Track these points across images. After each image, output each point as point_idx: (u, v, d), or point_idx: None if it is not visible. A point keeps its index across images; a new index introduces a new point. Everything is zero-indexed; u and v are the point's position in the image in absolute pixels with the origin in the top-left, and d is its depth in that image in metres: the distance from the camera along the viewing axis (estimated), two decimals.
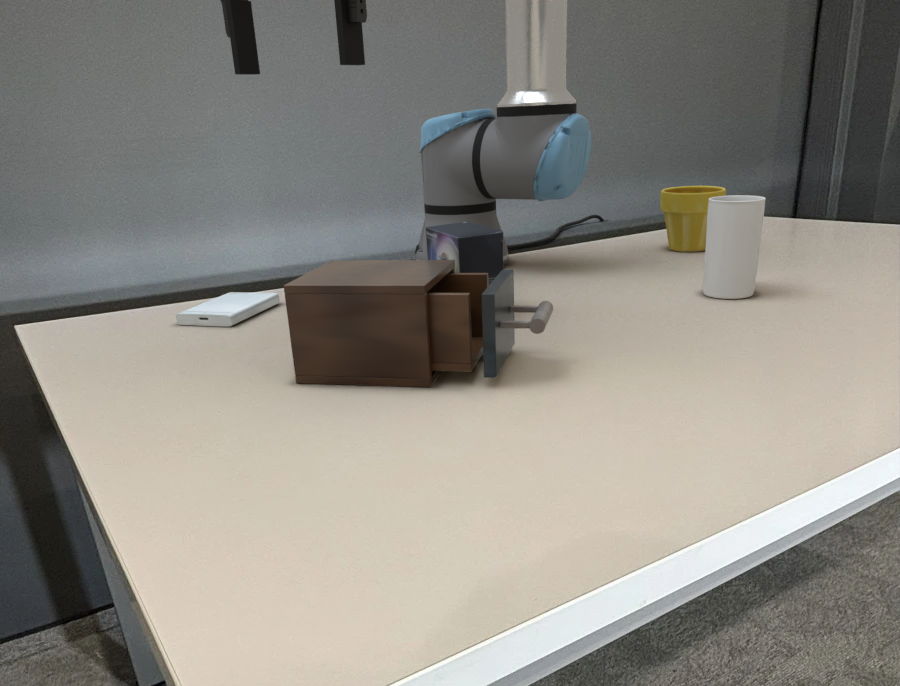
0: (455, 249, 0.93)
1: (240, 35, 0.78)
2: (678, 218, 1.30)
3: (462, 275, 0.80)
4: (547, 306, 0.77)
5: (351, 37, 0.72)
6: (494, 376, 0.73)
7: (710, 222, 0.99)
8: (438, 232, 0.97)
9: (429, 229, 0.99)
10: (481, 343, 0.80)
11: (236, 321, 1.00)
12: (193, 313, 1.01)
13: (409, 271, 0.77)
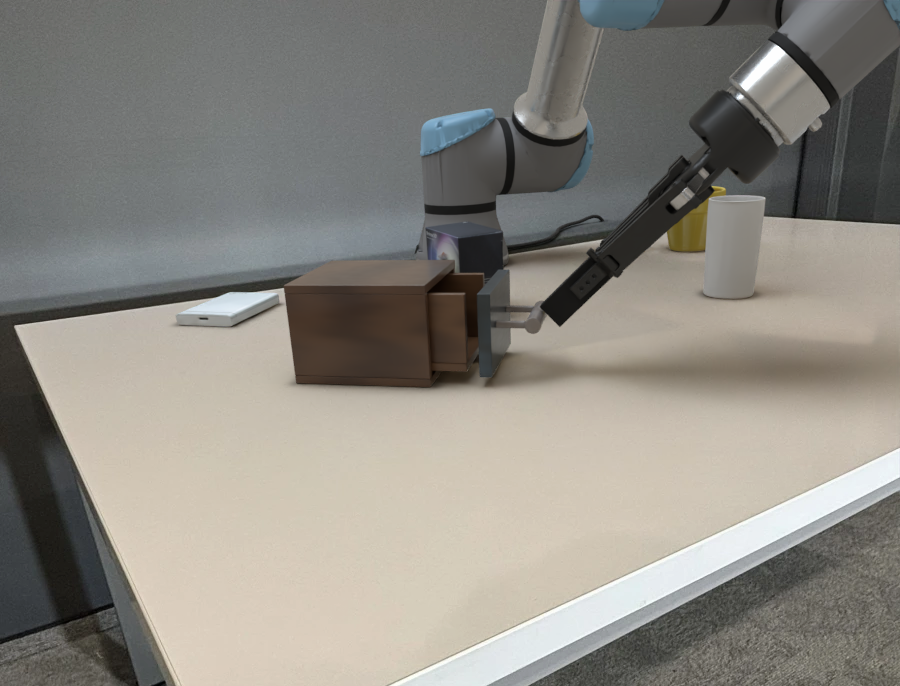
0: (455, 249, 0.93)
1: None
2: None
3: (458, 275, 0.80)
4: None
5: None
6: (490, 376, 0.73)
7: (710, 222, 0.99)
8: (438, 232, 0.97)
9: (429, 229, 0.99)
10: (477, 343, 0.80)
11: (236, 321, 1.00)
12: (193, 313, 1.01)
13: (409, 271, 0.77)
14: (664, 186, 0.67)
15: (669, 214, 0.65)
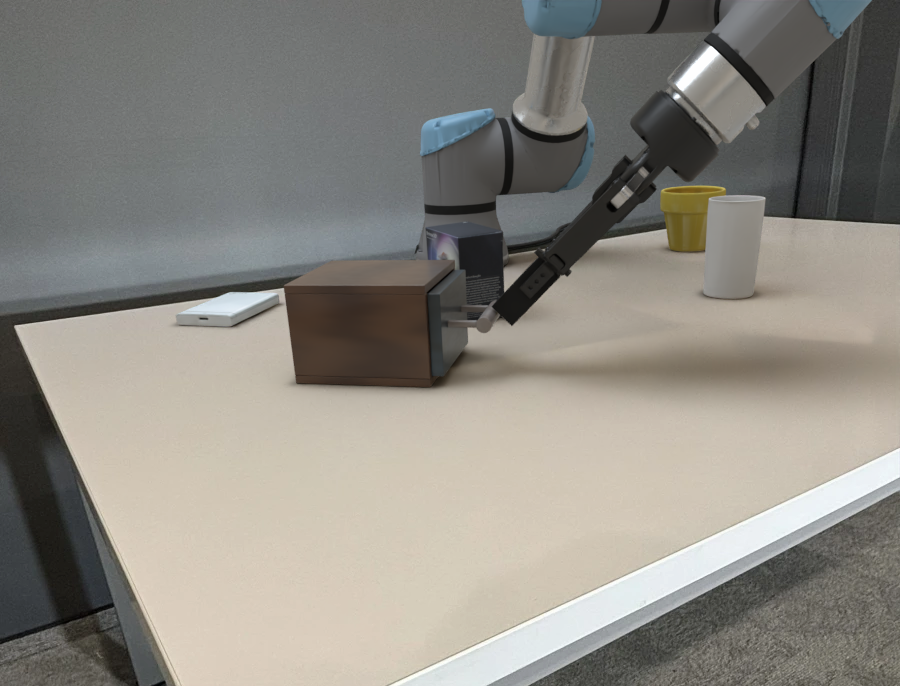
0: (455, 249, 0.93)
1: None
2: (678, 218, 1.30)
3: None
4: None
5: None
6: (441, 375, 0.74)
7: (710, 222, 0.99)
8: (438, 232, 0.97)
9: (429, 229, 0.99)
10: None
11: (236, 321, 1.00)
12: (193, 313, 1.01)
13: (409, 271, 0.77)
14: (607, 185, 0.68)
15: (610, 212, 0.66)
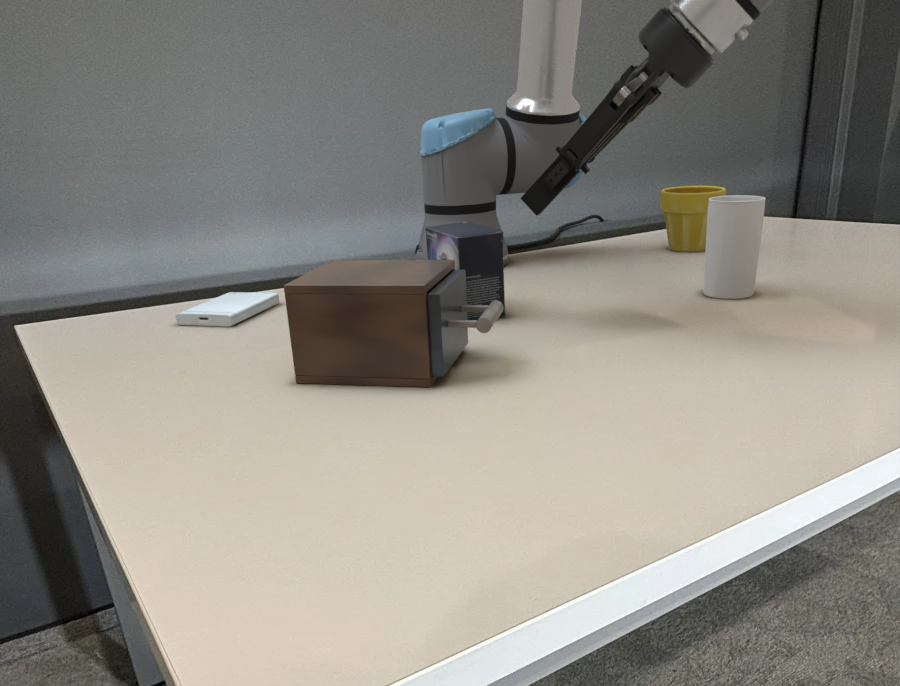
0: (455, 249, 0.93)
1: None
2: (678, 218, 1.30)
3: None
4: (496, 306, 0.78)
5: None
6: (441, 375, 0.74)
7: (710, 222, 0.99)
8: (438, 232, 0.97)
9: (429, 229, 0.99)
10: None
11: (236, 321, 1.00)
12: (193, 313, 1.01)
13: (409, 271, 0.77)
14: None
15: (613, 110, 0.79)
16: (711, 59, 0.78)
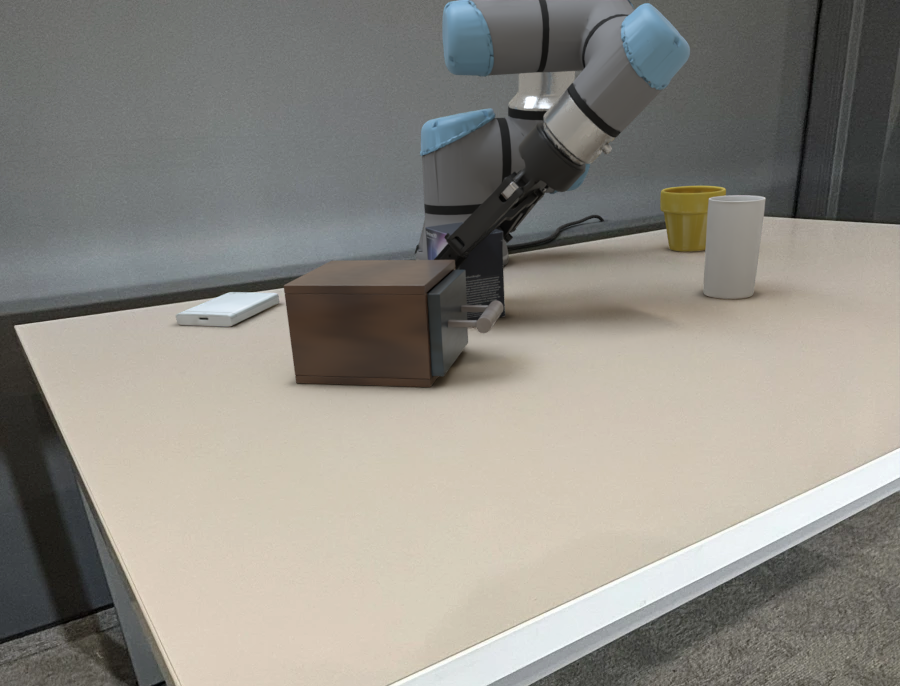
0: None
1: None
2: (678, 218, 1.30)
3: None
4: (496, 306, 0.78)
5: None
6: (441, 375, 0.74)
7: (710, 222, 0.99)
8: (438, 232, 0.97)
9: (429, 229, 0.99)
10: None
11: (236, 321, 1.00)
12: (193, 313, 1.01)
13: (409, 271, 0.77)
14: None
15: (502, 202, 0.87)
16: (581, 169, 0.88)
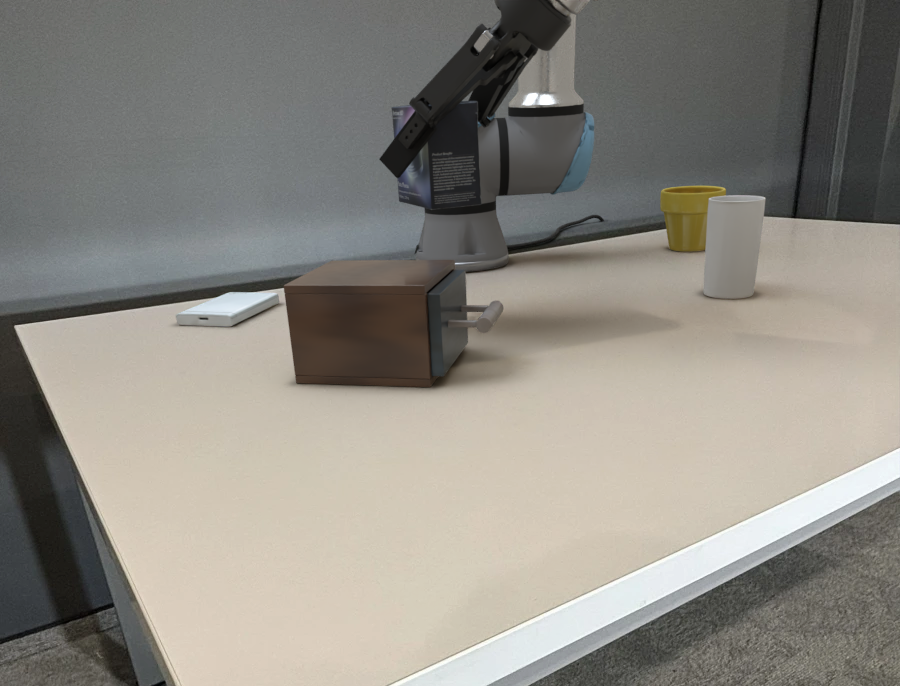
0: None
1: None
2: (678, 218, 1.30)
3: None
4: (496, 306, 0.78)
5: None
6: (441, 375, 0.74)
7: (710, 222, 0.99)
8: (404, 107, 0.85)
9: (395, 108, 0.88)
10: None
11: (236, 321, 1.00)
12: (193, 313, 1.01)
13: (409, 271, 0.77)
14: None
15: (474, 56, 0.75)
16: (566, 20, 0.77)
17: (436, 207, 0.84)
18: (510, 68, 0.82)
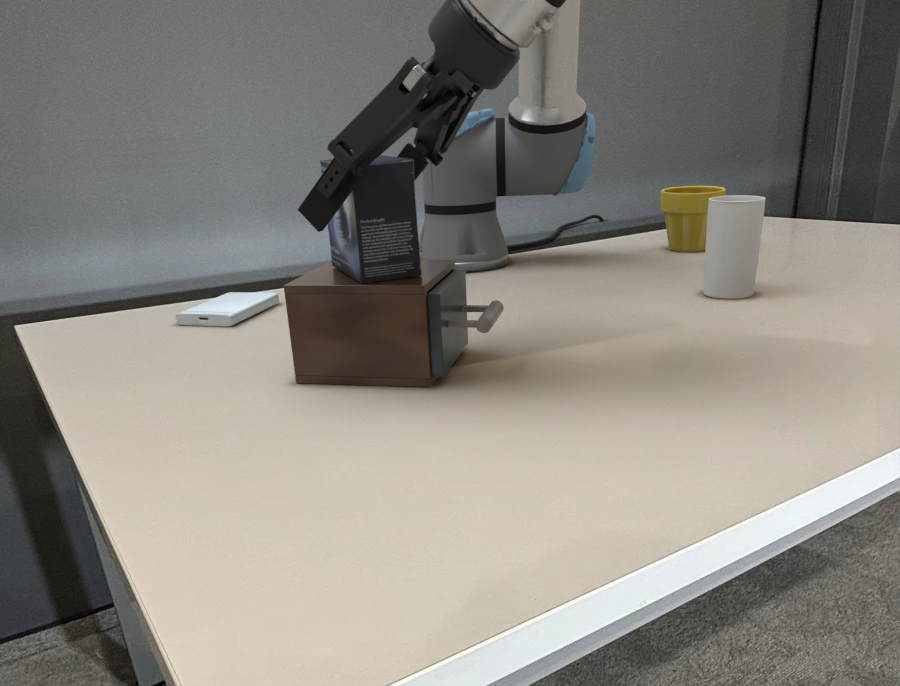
0: None
1: None
2: (678, 218, 1.30)
3: None
4: (496, 306, 0.78)
5: None
6: (441, 375, 0.74)
7: (710, 222, 0.99)
8: None
9: (323, 162, 0.76)
10: None
11: (236, 321, 1.00)
12: (193, 313, 1.01)
13: None
14: None
15: (403, 95, 0.63)
16: (512, 55, 0.64)
17: (367, 281, 0.73)
18: (451, 108, 0.70)
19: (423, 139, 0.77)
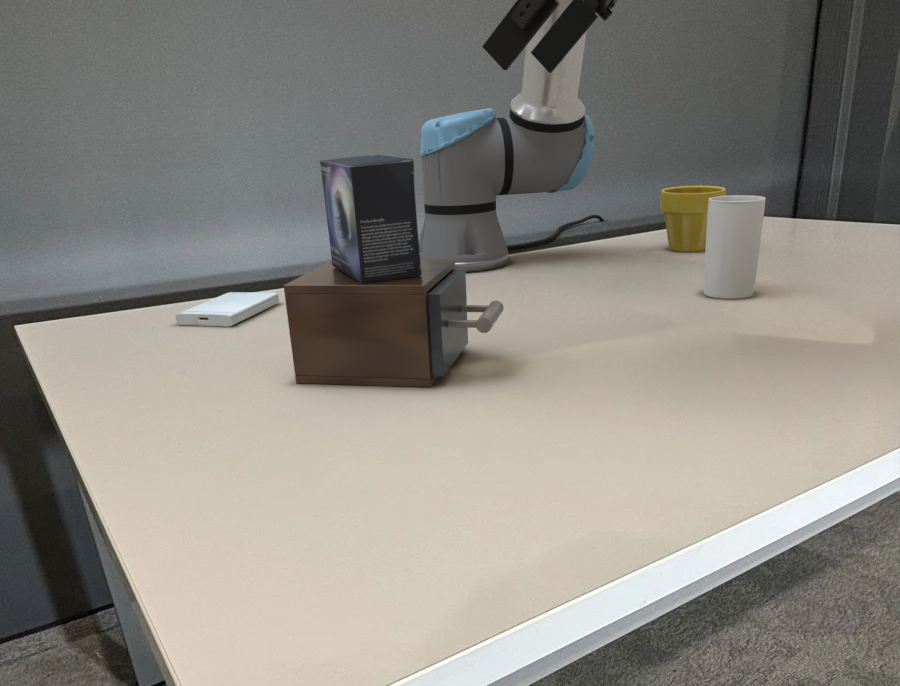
0: (348, 183, 0.69)
1: None
2: (678, 218, 1.30)
3: None
4: (496, 306, 0.78)
5: None
6: (441, 375, 0.74)
7: (710, 222, 0.99)
8: (331, 164, 0.73)
9: (323, 162, 0.76)
10: None
11: (236, 321, 1.00)
12: (193, 313, 1.01)
13: None
14: None
15: None
16: None
17: (367, 281, 0.73)
18: None
19: None
